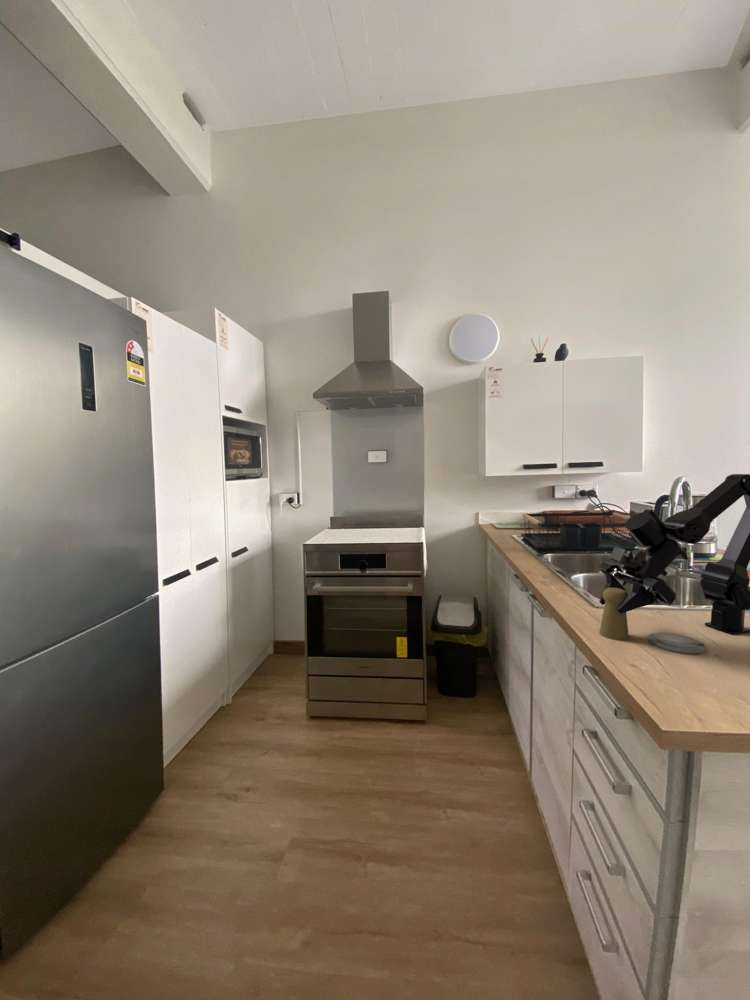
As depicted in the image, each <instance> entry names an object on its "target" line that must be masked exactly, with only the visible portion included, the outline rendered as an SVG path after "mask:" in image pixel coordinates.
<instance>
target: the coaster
mask: <svg viewBox="0 0 750 1000" xmlns="http://www.w3.org/2000/svg"><path fill="white" fill-rule="evenodd" d="M648 639H649V640H648V641H649V642H650V643H651V644H653V646H656V647H658V648H659V649H662V650H666V651H669V652H672V653H677V654H683V655H701V654H703V653H705V650H706V645H705V644H704V643H702V642H701V641H700V640H698V639H696V638H692V637H691V636H688V635H687V636H686V635H683V634H679V633H673V632H672V633H671V632H660V631H659V632H653V633H650V634H649V638H648Z"/></svg>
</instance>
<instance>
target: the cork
mask: <svg viewBox="0 0 750 1000" xmlns="http://www.w3.org/2000/svg"><path fill="white" fill-rule="evenodd" d="M603 591H604V592H603ZM603 591H602V593H603V599H604V600H605V604H604V605H603V611H602V617H601V622H600V628H599V631H598V633H599V635H600V636H602V637H604V638H606V639H609V640H613V641H627V640H629V638H630V636H629V635H630V634H629V627H628V626H629V625H628V617H627V612H625V613H622V614H620V613H619V612H618V611H617V610H618V608H619V607H620V605H621V604H622V603H623V601H624V600H625V599H626V598H627V597H628V595H629V593H628V592H627V590H626V591H625V590H623V589H619V588H607V589H605V590H604V589H603Z"/></svg>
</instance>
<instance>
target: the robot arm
mask: <svg viewBox="0 0 750 1000" xmlns="http://www.w3.org/2000/svg"><path fill="white" fill-rule="evenodd" d="M742 497H743V499H744V501H745V502H744V503H745V505H746V507H745V509H744V511H743V513H742V515H741V517H740V520H739V521H738V523H737V525H736V528H735V530H734V532H733V534H732V536H731V538H730V540H729V543H728V544H727V546H726V549H725V551H724V553H723V554H722V557H721V559H720V560H718V561H717V562H709V561H708V563H706V565H705V567H704V570H703V572H702V573H701V574H700V575H699V577H700V578H701V579H700V582H699V585H700V586H701V589H702V592H703V596H704V599H705V600H709V601H711V602H712V606H711V607H712V608H711V610H710V611H711V613H710V621H708V622H704V625H705V626H707V627H709V628H713V629H715V630H718V631H721V632H724V633H727V634H729V635H730V634H731V635H736V634H742V633H744V632H745V633H749V632H750V628H748V627H745V615H746V614H745V613H746V611H750V590H749V589H748V588H749V585H750V576H749V573H748V570H747V568H748V566H749V564H750V474H749V473H731V474H729V475H727V476H726V477H725V479H724V481H722V483H720V484H719V485H718V486H717V487H715V488H714V489H712V490H711V491H710V492H709V493H708V494H707V495H705V496H704V497H703V498H702V499H701V500H699V501H698V502H697V503H696V504H695V505H693V506H692V507H690V508H688V509H684V510H681V511H679V512H676V513H674V514H673V515H671V516H669V517H667V518H666V519H665V520H664V521H661V519H660V518H659V517H658V515H657V514H656V512H655V510H653V509H644V510H643V511H642V512H639V513H635V514H634V515H632V516H631V517H629V518H628V519H627V520H626V521H625V523H624V526H625V529H627V531H628V532H629V533H630V534H631V536H632V537H633V538H634V539H635V540H636V541H637V542H638V543H639V544H640V546H643V547H646V548H645V549H644V551H642V550H639V549H634V550H631V551H630V550H627V549H625V548H621V547H618V546H614V547H613V549H612V552H610V556H609V558H608V559H609V560H610V561H614V562H616V563H619V564H620V566H619V565H618V564H615V563H612V562H609V561H604V562H602V563H601V564H600V565H599V566H598V567H597V569H598V570H599V571H600V572H601V573H602V574H603V576H605V580H606V581H605V586H604V589H603V591H602V593H601V597H600V599H599V603H600V604H601V605H602V606H605V600H604V599H603V592H604V590H605V589H607V588H619V589H623V590H625V591H626V592H627V589H626V588H625V587H624V586H625V585H626V584H630V585H632V588H631V589H632V590H631V592H630V593H628V597H627V598H626V599H625V600H624V601H623V603H622V604H621V605H620V607H619V608H618V610H617V611H618V612H619V613H620V614H622V613H625V612H626V613H627V612H631V611H632V610H633V611H634V610H636V609H639V608H643V607H645V606H649V605H653V604H655V605H657V604H659V602H660V603H662V604H664V605H667V606H671V605H672V604H673V603H674V602H675V601H676V598H677V597H676V596H677V593H676V592H675V591H674V590H673V589H672V588H671V586H670V585H669V584H668V583H667V582H666V581H665V580H664V579H662V578H659V577H660V576H662V577H666V576H667V575H668V573H669V572H667V571H666V569H668V567H670V565H671V564H672V563H673V562H674V561H675V560H676V559H677V558H678V559H680V560H681V559H682V560H685V561H686V560H688V558H689V557H688V553H687V547H685V546H684V547H683V546H681V545H680V544H679V543H685V544H691V545H695V544H699V542H701V541H702V539H704V537H706V536H707V534H708V533H709V531H710V529H711V524H712V522H713V521H715V520H716V518H718V517H719V516H721V515H722V513H724V512H725V511H726V510H727V509H729V508H730V507H731V506H732V505H734V504H735V503H736V502H737V501H738V500H740V498H742ZM678 542H679V543H678ZM620 567H621V568H620ZM623 570H624V571H625V572H624V571H623Z"/></svg>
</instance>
